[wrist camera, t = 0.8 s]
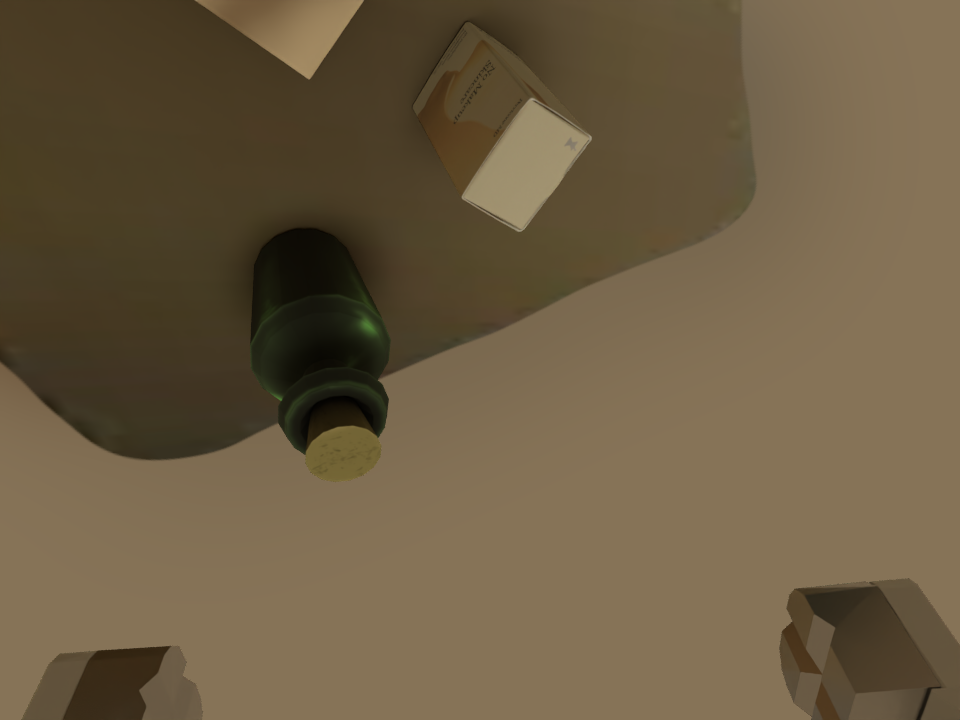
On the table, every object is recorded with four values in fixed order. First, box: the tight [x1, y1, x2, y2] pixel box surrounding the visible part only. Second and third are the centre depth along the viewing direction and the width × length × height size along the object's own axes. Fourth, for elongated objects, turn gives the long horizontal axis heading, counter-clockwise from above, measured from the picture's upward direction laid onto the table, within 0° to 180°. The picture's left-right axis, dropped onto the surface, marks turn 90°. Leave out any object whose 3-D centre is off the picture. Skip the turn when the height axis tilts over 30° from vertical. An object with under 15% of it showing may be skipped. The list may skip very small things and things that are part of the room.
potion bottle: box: [250, 230, 391, 482], centre depth 46 cm, size 8×8×18 cm
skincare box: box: [413, 22, 592, 231], centre depth 44 cm, size 6×4×12 cm
